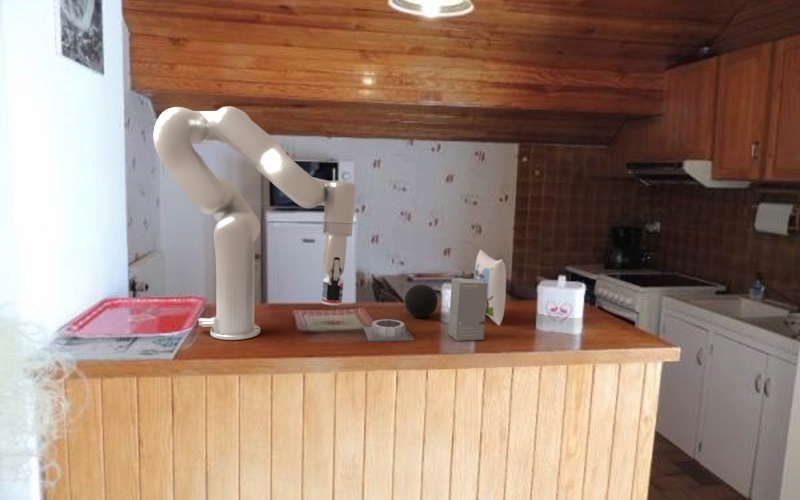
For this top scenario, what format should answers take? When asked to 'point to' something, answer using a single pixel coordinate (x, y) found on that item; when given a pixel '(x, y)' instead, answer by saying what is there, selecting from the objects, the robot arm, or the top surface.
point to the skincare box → (467, 309)
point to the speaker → (421, 301)
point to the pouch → (492, 284)
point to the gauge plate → (388, 331)
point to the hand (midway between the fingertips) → (332, 296)
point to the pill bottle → (324, 293)
